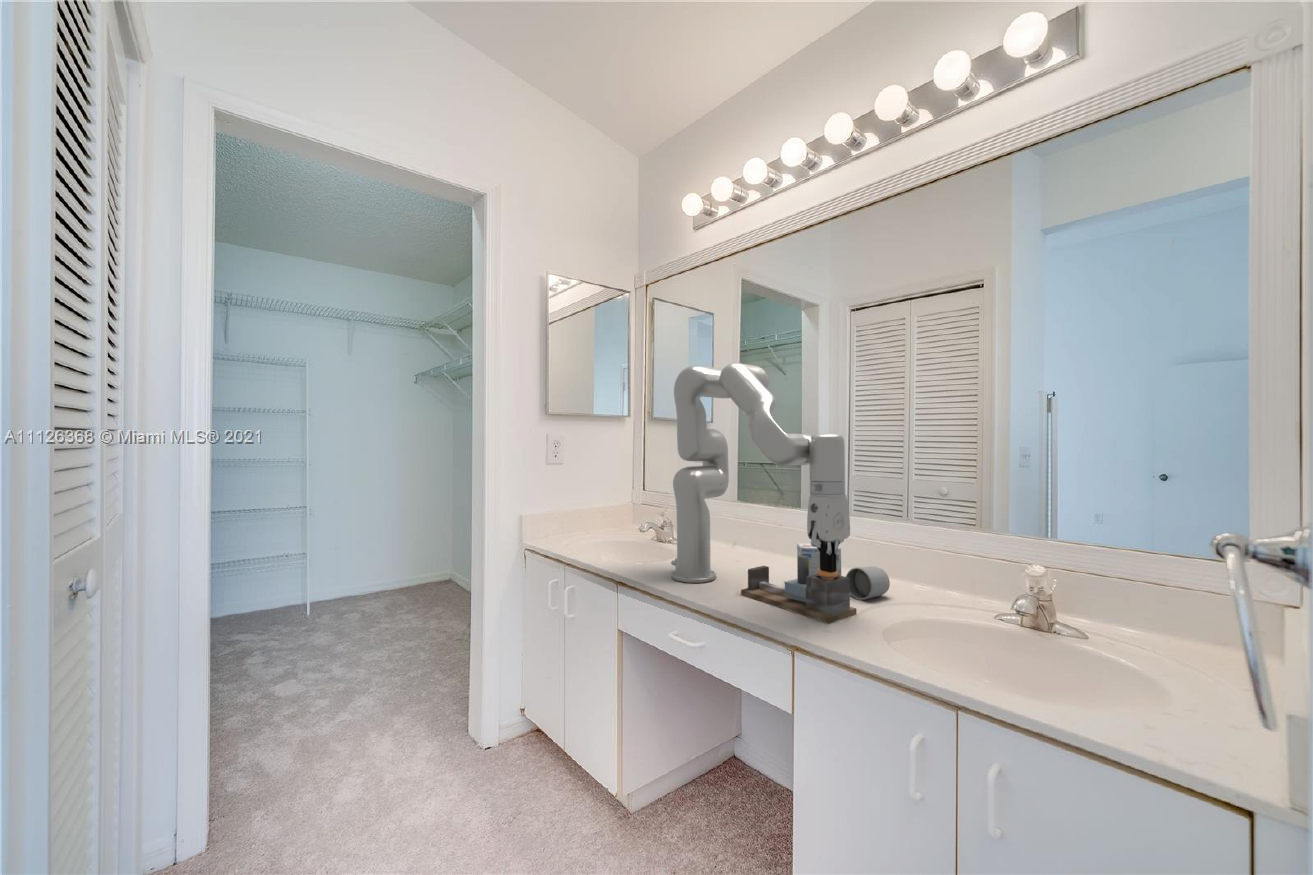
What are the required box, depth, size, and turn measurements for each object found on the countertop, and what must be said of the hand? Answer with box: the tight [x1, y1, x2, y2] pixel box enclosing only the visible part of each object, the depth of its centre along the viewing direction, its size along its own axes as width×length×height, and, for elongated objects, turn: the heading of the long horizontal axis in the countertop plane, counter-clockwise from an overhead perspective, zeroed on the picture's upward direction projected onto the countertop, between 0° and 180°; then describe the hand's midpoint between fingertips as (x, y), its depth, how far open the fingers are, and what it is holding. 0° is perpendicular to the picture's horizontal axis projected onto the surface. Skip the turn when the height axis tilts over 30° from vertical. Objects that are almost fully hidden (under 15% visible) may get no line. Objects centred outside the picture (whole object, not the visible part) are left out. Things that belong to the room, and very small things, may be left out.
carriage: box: [784, 555, 809, 602], centre depth 119 cm, size 6×6×10 cm
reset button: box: [818, 569, 838, 580], centre depth 114 cm, size 4×4×5 cm
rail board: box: [740, 565, 857, 624], centre depth 121 cm, size 26×10×8 cm, turn 36°
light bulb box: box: [796, 542, 842, 576], centre depth 137 cm, size 11×7×11 cm, turn 84°
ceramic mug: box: [845, 566, 891, 601], centre depth 127 cm, size 11×8×8 cm
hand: (828, 570), depth 114 cm, fingers closed
